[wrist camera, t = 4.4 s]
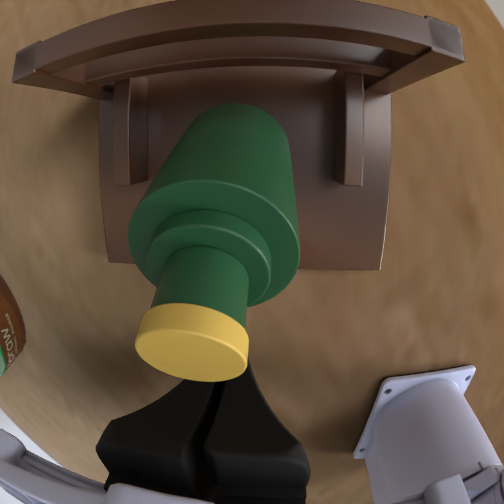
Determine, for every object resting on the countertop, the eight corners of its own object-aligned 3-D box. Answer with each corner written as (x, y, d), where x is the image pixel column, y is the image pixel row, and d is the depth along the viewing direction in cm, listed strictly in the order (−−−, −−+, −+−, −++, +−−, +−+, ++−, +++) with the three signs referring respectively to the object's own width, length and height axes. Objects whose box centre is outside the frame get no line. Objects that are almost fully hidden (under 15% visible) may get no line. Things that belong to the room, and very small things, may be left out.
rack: (376, 266, 14) (438, 344, 8) (113, 259, 15) (34, 322, 9) (384, 51, 11) (457, -5, 4) (107, 59, 12) (18, 23, 5)
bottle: (287, 199, 13) (294, 401, 7) (189, 198, 13) (128, 385, 7) (291, 103, 10) (327, 292, 4) (176, 106, 10) (41, 277, 4)
